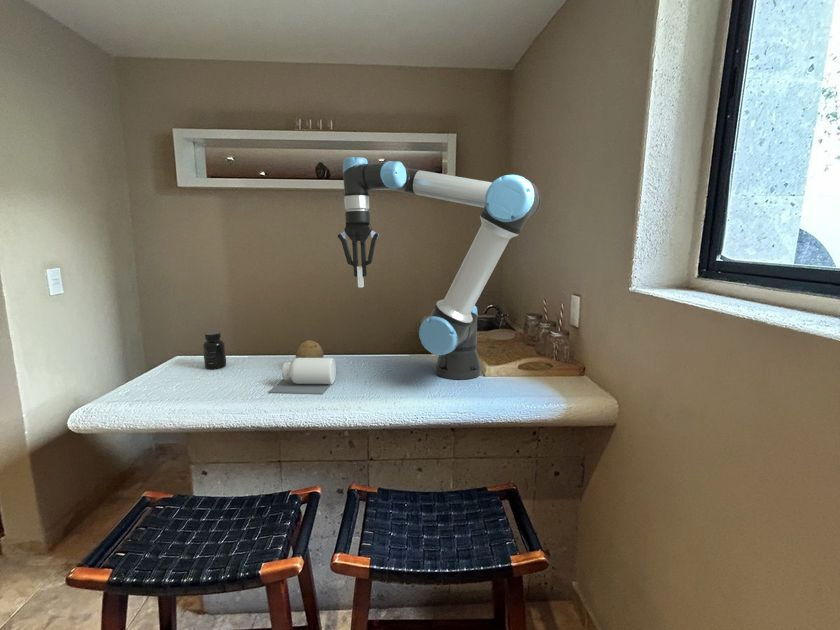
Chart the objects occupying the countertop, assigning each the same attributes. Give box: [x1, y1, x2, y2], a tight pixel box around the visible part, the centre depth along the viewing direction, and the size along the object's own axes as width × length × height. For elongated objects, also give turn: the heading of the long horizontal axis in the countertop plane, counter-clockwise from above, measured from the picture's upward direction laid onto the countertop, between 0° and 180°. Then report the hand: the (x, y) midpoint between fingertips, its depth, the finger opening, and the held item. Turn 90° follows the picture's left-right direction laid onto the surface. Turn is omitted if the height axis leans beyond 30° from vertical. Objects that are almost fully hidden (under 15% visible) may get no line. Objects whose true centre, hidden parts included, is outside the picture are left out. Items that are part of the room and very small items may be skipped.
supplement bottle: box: [202, 331, 227, 371], centre depth 153 cm, size 7×7×12 cm
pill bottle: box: [281, 357, 337, 385], centre depth 137 cm, size 8×8×15 cm
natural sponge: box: [295, 339, 325, 359], centre depth 151 cm, size 9×9×10 cm
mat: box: [267, 378, 331, 395], centre depth 136 cm, size 16×14×1 cm
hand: (361, 286), depth 143 cm, fingers closed
